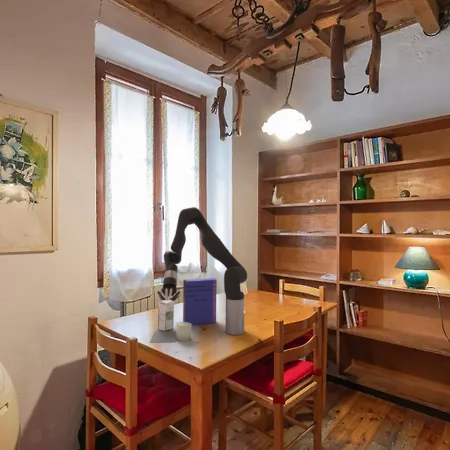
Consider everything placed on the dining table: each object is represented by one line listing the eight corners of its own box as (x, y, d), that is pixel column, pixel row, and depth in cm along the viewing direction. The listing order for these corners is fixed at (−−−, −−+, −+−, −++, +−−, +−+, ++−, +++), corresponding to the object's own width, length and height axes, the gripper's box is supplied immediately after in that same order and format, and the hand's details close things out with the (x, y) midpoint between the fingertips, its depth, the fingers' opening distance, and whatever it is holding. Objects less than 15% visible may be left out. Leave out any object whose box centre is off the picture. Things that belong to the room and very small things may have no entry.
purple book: (213, 320, 192) (213, 277, 192) (216, 322, 188) (216, 279, 187) (182, 323, 186) (183, 279, 185) (185, 326, 182) (185, 281, 181)
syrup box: (166, 327, 179) (166, 299, 180) (173, 329, 175) (174, 300, 176) (157, 329, 175) (158, 300, 175) (165, 331, 171) (165, 302, 172)
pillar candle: (190, 336, 165) (191, 322, 165) (190, 341, 158) (191, 326, 158) (176, 335, 165) (177, 321, 165) (175, 341, 158) (176, 326, 158)
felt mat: (178, 331, 172) (178, 331, 172) (176, 342, 157) (176, 342, 157) (154, 332, 171) (154, 331, 171) (149, 342, 156) (149, 342, 156)
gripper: (157, 276, 190) (154, 304, 178) (181, 276, 190) (179, 304, 178) (159, 284, 195) (155, 311, 183) (182, 284, 196) (180, 311, 184)
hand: (167, 307), depth 181 cm, fingers closed
